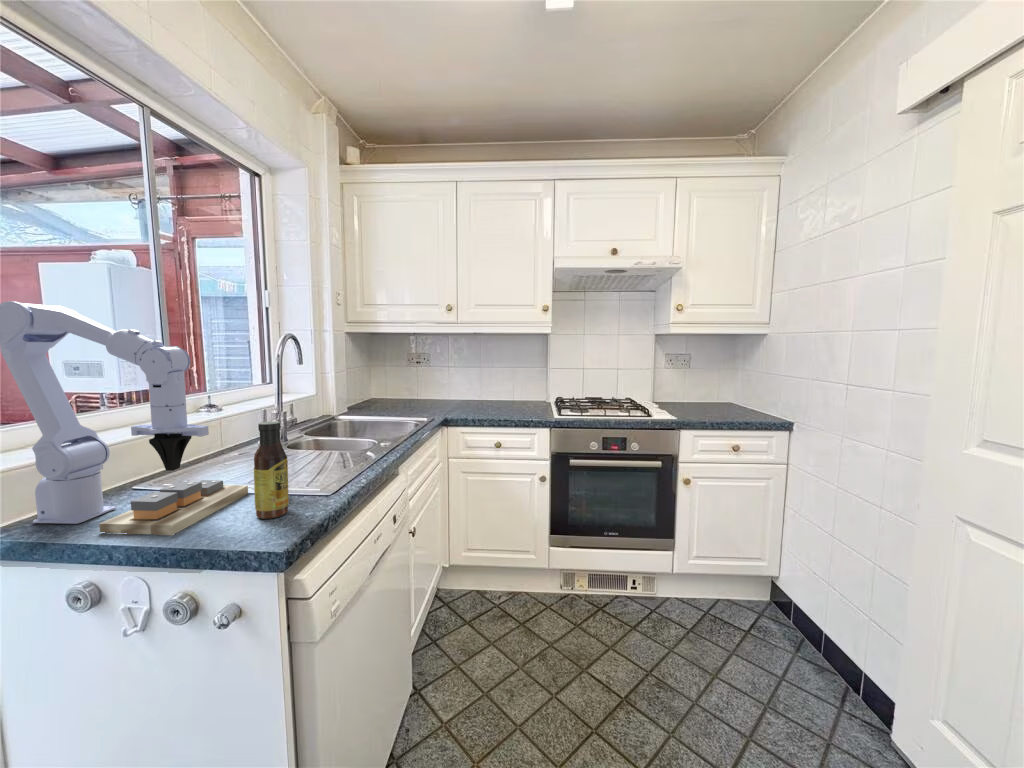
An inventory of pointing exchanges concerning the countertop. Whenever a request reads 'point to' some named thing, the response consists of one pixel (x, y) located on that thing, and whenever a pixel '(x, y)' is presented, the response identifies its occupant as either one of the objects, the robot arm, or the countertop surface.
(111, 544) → the countertop surface
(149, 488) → the countertop surface
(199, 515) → the beige drawer frame
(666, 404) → the countertop surface
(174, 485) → the two-dot tile
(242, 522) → the countertop surface
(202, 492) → the three-dot tile
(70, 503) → the robot arm
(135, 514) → the grey square block
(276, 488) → the sauce bottle
